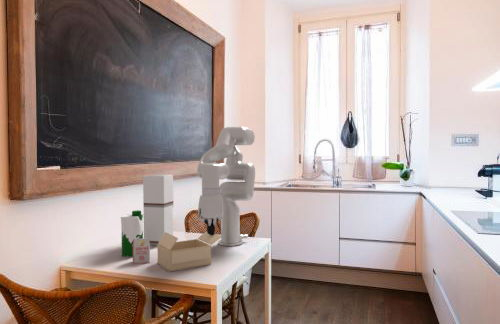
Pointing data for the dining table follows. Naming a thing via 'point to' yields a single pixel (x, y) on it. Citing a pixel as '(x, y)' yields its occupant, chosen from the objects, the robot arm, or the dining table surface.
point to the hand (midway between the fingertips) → (211, 234)
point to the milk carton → (131, 231)
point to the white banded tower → (157, 206)
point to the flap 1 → (168, 241)
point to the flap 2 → (209, 238)
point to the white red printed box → (141, 250)
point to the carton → (184, 255)
